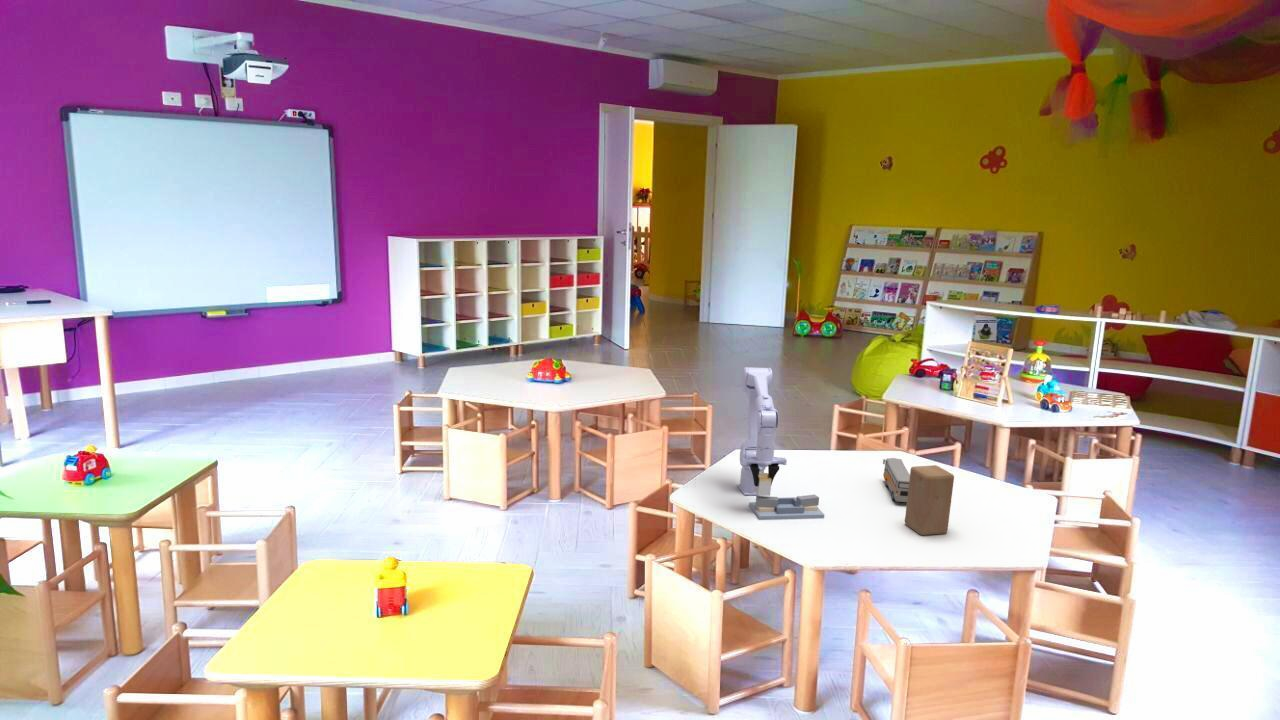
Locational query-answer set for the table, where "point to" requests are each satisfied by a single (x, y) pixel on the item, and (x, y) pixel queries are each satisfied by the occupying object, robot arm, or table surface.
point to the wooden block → (929, 499)
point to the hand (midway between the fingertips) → (762, 485)
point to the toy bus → (896, 479)
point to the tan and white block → (763, 485)
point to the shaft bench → (786, 507)
